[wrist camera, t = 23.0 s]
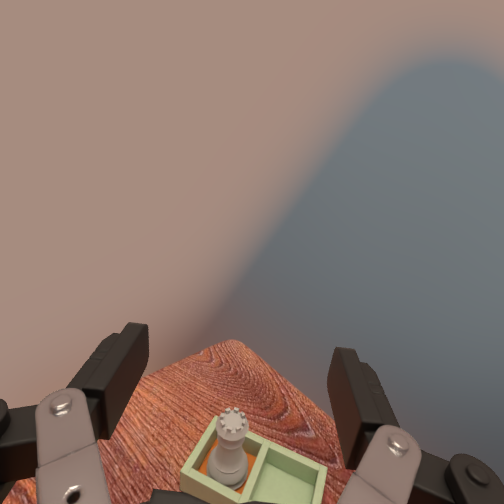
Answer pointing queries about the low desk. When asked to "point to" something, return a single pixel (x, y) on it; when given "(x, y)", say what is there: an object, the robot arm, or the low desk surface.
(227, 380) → the low desk surface
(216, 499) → the socket pad
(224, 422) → the rook chess piece
